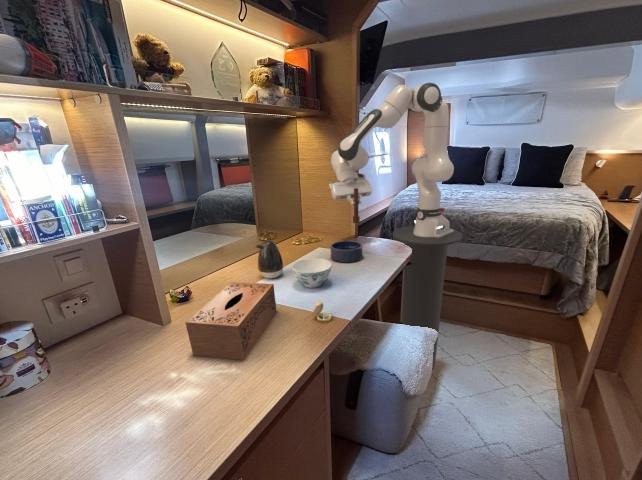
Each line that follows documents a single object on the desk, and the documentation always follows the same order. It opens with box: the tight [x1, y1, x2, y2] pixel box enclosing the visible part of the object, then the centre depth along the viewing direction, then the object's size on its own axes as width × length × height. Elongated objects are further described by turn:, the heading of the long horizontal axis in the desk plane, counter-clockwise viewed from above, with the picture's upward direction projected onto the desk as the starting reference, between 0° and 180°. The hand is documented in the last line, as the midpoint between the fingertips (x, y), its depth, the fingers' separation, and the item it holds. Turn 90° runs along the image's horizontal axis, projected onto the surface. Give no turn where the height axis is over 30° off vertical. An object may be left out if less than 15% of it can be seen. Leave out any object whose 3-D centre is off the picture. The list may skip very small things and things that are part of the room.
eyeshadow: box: [312, 301, 332, 323], centre depth 104 cm, size 4×5×5 cm
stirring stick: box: [352, 188, 361, 224], centre depth 160 cm, size 3×3×16 cm
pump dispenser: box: [255, 239, 285, 279], centre depth 136 cm, size 10×10×15 cm
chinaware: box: [291, 257, 333, 288], centre depth 128 cm, size 15×15×8 cm
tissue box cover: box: [185, 281, 278, 361], centre depth 98 cm, size 26×14×10 cm, turn 169°
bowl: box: [329, 240, 363, 263], centre depth 154 cm, size 14×14×6 cm
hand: (356, 203), depth 159 cm, fingers closed on stirring stick, 2 cm apart
